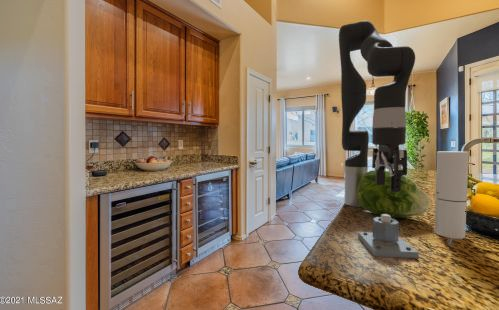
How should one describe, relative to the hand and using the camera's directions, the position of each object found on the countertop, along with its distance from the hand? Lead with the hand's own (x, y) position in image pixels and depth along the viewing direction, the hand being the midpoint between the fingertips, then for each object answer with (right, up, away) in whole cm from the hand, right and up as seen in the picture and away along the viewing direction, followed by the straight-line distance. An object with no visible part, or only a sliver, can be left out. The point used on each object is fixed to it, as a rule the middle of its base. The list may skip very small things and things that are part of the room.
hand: (387, 187), depth 63 cm
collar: (0, -14, +1) cm, 14 cm away
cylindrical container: (+24, -15, +9) cm, 30 cm away
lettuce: (+17, -15, +27) cm, 35 cm away
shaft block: (0, -16, +1) cm, 16 cm away
